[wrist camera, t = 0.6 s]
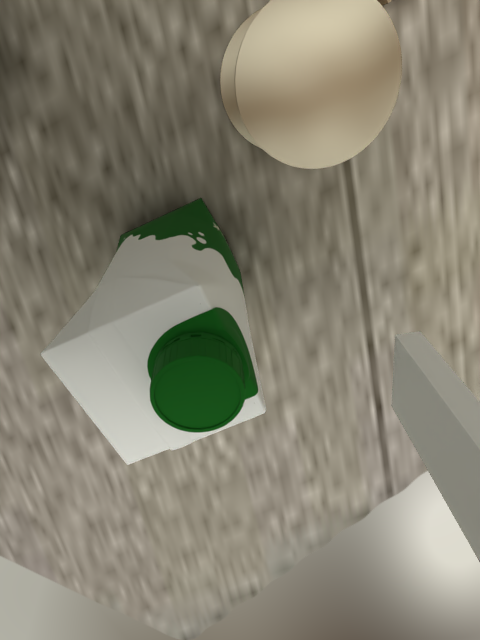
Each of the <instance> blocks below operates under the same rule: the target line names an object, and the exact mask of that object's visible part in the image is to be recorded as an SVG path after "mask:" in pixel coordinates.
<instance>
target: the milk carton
mask: <svg viewBox="0 0 480 640" xmlns="http://www.w3.org/2000/svg"><path fill="white" fill-rule="evenodd" d="M41 356H42V357H43V359H44V360H45V361H46V362H47V364H48V365H49V366H50V367H51V369H52V370H53V371H54V373H55V374H56V375H57V376H58V378H59V379H60V380H61V381H62V383H63V384H64V385H65V386H66V388H67V389H68V390H69V392H70V393H71V394H72V395H73V397H74V398H75V399H76V400H77V402H78V403H79V404H80V406H81V407H82V408H83V409H84V411H85V412H86V413H87V414H88V416H89V417H90V418H91V419H92V421H93V422H94V423H95V425H96V426H97V427H98V428H99V430H100V431H101V432H102V433H103V435H104V436H105V437H106V439H107V440H108V441H109V442H110V444H111V445H112V446H113V447H114V449H115V450H116V451H117V452H118V454H119V455H120V456H121V458H122V459H123V460H124V461H125V463H126V464H127V465H128V464H131V463H134V462H136V461H139V460H141V459H144V458H147V457H149V456H152V455H154V454H157V453H160V452H162V451H165V450H167V449H171V450H176V449H178V448H181V447H184V446H186V445H189V444H191V443H192V442H193V441H196V440H198V439H201V438H203V437H206V436H209V435H211V434H214V433H216V432H219V431H221V430H224V429H226V428H229V427H231V426H234V425H236V424H239V423H241V422H244V421H246V420H249V419H251V418H254V417H256V416H259V415H261V414H263V413H265V411H266V405H265V401H264V396H263V392H262V387H261V382H260V377H259V372H258V368H257V363H256V358H255V353H254V349H253V344H252V339H251V334H250V328H249V322H248V315H247V309H246V303H245V297H244V291H243V285H242V279H241V273H240V270H239V267H238V265H237V263H236V261H235V258H234V256H233V254H232V252H231V250H230V248H229V246H228V244H227V242H226V240H225V238H224V236H223V234H222V232H221V230H220V229H219V227H218V225H217V224H216V222H215V220H214V219H213V217H212V215H211V214H210V212H209V210H208V209H207V207H206V205H205V203H204V202H203V200H202V198H200V199H198V200H196V201H193V202H191V203H189V204H187V205H185V206H183V207H181V208H178V209H176V210H174V211H172V212H170V213H168V214H166V215H163V216H161V217H159V218H157V219H155V220H153V221H151V222H148V223H146V224H144V225H142V226H140V227H138V228H136V229H133V230H131V231H129V232H127V233H125V234H123V235H121V236H120V240H119V244H118V248H117V251H116V254H115V256H114V257H113V259H112V261H111V263H110V265H109V266H108V268H107V270H106V272H105V274H104V275H103V277H102V279H101V281H100V282H99V284H98V286H97V288H96V289H95V291H94V292H93V294H92V295H91V296H90V297H89V298H88V300H87V301H86V302H85V303H84V304H83V306H82V307H81V308H80V309H79V310H78V311H77V313H76V314H75V315H74V316H73V317H72V318H71V320H70V321H69V322H68V323H67V324H66V325H65V326H64V328H63V329H62V330H61V331H60V332H59V333H58V335H57V336H56V337H55V338H54V339H53V340H52V341H51V343H50V344H49V345H48V346H47V347H46V348H45V349H44V350H43V351H42V352H41Z"/></svg>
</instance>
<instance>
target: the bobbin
mask: <svg viewBox="0 0 480 640" xmlns="http://www.w3.org/2000/svg"><path fill="white" fill-rule="evenodd" d="M401 76H402V56H401V47H400V43H399V39H398V35H397V32H396V30H395V27H394V25H393V22H392V21H391V19H390V17H389V15H388V13H387V12H386V11H385V9H384V8H383V7H382V5H381V4H380V3H379V2H378V1H377V0H271V1H270V2H268V3H267V4H266V5H265V6H264V7H263V8H262V9H260V10H258V11H257V12H255V13H254V14H253V15H251V16H250V17H249V18H247V19H246V20H245V21H244V22H243V23H242V24H241V26H240V27H239V28H238V30H237V31H236V32H235V34H234V35H233V37H232V39H231V40H230V42H229V45H228V47H227V49H226V51H225V55H224V58H223V61H222V67H221V75H220V87H221V95H222V100H223V104H224V107H225V110H226V112H227V114H228V117H229V118H230V120H231V122H232V124H233V125H234V127H235V128H236V129H237V130H238V132H239V133H240V134H241V135H242V136H243V137H244V138H245V139H247V140H248V141H249V142H251V143H252V144H254V145H255V146H257V147H259V148H262V149H263V150H264V151H265V152H267V153H268V154H269V155H270V156H272V157H273V158H275V159H277V160H279V161H280V162H282V163H285V164H287V165H290V166H294V167H298V168H305V169H320V168H326V167H331V166H334V165H337V164H340V163H342V162H344V161H346V160H349V159H350V158H352V157H354V156H355V155H357V154H358V153H360V152H361V151H362V150H363V149H365V148H366V147H367V146H368V145H369V144H370V143H371V142H372V141H373V140H374V139H375V138H376V137H377V135H378V134H379V133H380V131H381V130H382V129H383V127H384V126H385V124H386V122H387V121H388V119H389V117H390V115H391V113H392V111H393V108H394V106H395V103H396V100H397V97H398V93H399V89H400V84H401Z"/></svg>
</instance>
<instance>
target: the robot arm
mask: <svg viewBox="0 0 480 640" xmlns="http://www.w3.org/2000/svg"><path fill="white" fill-rule="evenodd" d="M392 408H393V409H394V411H395V413H396V415H397V416H398V418H399V420H400V422H401V423H402V425H403V427H404V429H405V431H406V432H407V434H408V436H409V438H410V439H411V441H412V443H413V445H414V447H415V448H416V450H417V452H418V454H419V455H420V457H421V459H422V461H423V462H424V464H425V466H426V468H427V470H428V471H429V473H430V475H431V477H432V478H433V480H434V482H435V484H436V485H437V487H438V489H439V491H440V493H441V494H442V496H443V498H444V500H445V501H446V503H447V505H448V507H449V509H450V510H451V512H452V514H453V516H454V517H455V519H456V521H457V523H458V524H459V526H460V528H461V530H462V532H463V533H464V535H465V537H466V539H467V540H468V542H469V544H470V546H471V548H472V549H473V551H474V553H475V555H476V556H477V558H478V560H479V562H480V401H479V400H478V399H477V398H476V397H475V396H474V394H473V393H472V392H471V391H470V390H469V388H468V387H467V386H466V385H465V384H464V383H463V381H462V380H461V379H460V378H459V377H458V375H457V374H456V373H455V372H454V371H453V370H452V368H451V367H450V366H449V365H448V364H447V362H446V361H445V360H444V359H443V358H442V356H441V355H440V354H439V353H438V352H437V351H436V349H435V348H434V347H433V346H432V345H431V343H430V342H429V341H428V340H427V339H426V338H425V336H424V335H423V334H422V333H421V332H420V331H419V332H412V333H405V334H397V335H395V348H394V368H393V387H392Z"/></svg>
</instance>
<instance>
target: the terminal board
mask: <svg viewBox="0 0 480 640" xmlns="http://www.w3.org/2000/svg"><path fill="white" fill-rule="evenodd" d="M377 1H378V2H379V3H380V4H381V5H382V6H383V5H385V4H387V3H389V2H391V1H392V0H377Z"/></svg>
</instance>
